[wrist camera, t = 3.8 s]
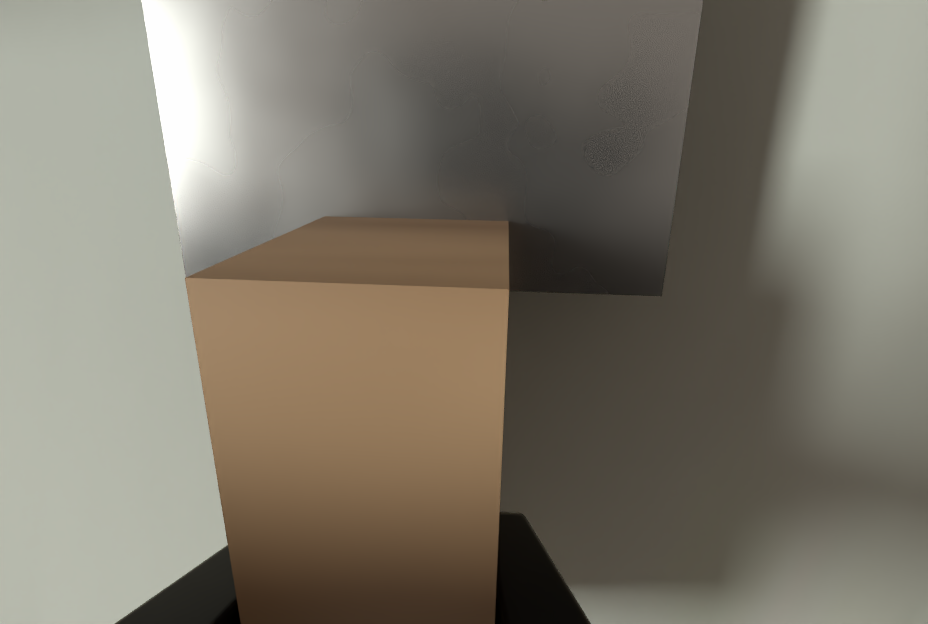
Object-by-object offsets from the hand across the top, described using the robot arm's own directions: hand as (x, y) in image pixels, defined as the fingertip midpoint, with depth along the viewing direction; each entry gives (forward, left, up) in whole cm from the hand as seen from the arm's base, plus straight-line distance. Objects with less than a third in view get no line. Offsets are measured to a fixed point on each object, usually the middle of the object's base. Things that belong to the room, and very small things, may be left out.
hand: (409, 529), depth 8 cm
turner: (+3, 0, -2) cm, 3 cm away
